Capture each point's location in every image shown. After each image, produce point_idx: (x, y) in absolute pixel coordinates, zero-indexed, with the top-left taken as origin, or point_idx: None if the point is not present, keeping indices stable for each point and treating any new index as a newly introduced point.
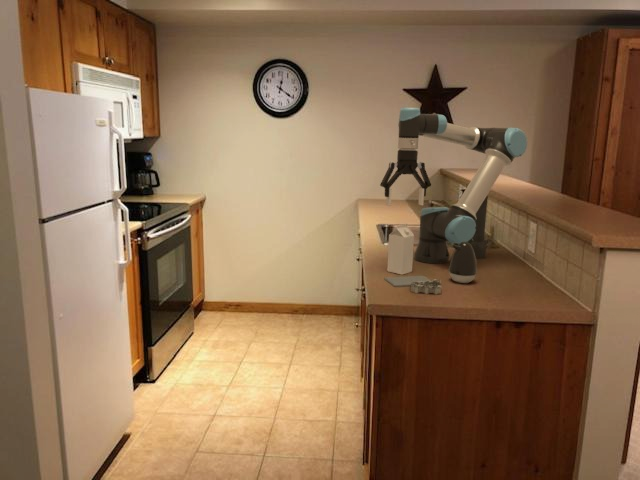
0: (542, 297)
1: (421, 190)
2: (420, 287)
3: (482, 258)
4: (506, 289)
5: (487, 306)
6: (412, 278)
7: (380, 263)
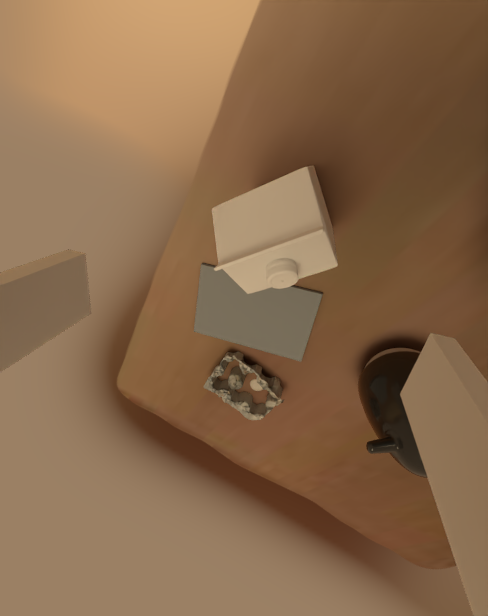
0: None
1: (481, 557)
2: (226, 387)
3: None
4: None
5: (295, 483)
6: (271, 304)
7: (300, 49)
